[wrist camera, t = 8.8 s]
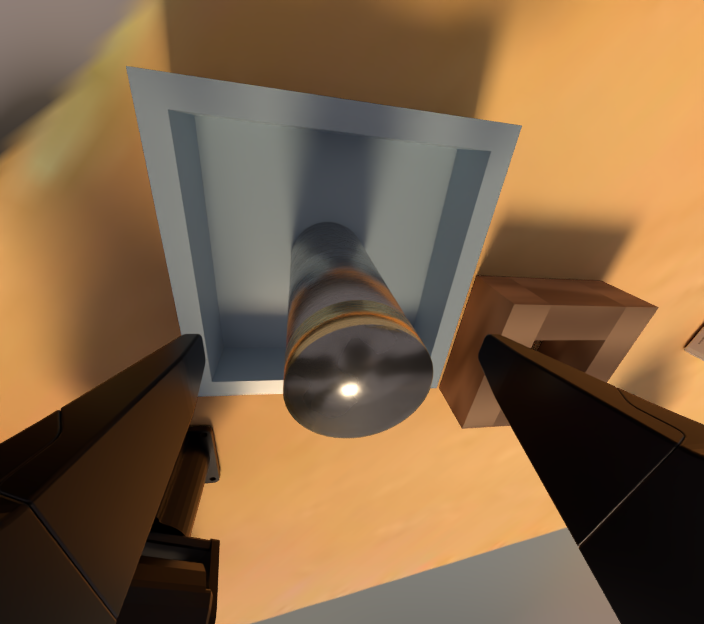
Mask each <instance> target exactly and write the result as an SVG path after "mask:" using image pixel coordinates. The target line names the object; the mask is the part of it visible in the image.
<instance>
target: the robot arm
mask: <svg viewBox="0 0 704 624" xmlns="http://www.w3.org/2000/svg"><path fill="white" fill-rule="evenodd" d="M478 360H479V363H480V365H481V367H482V369H483V372H484V374H485V376H486V379H487V381H488V383H489V386H490V388H491V390H492V392H493V395H494V397H495V399H496V401H497V403H498V405H499V406H500V408H501V410H502V412H503V413H504V415H505V417H506V419H507V421H508V422H509V424H510V426H511V428H512V430H513V431H514V433H515V435H516V437H517V438H518V440H519V442H520V444H521V446H522V447H523V449H524V451H525V453H526V455H527V456H528V458H529V460H530V462H531V463H532V465H533V467H534V469H535V471H536V472H537V474H538V476H539V478H540V480H541V481H542V483H543V485H544V487H545V489H546V490H547V492H548V494H549V496H550V497H551V499H552V501H553V503H554V505H555V506H556V508H557V510H558V512H559V514H560V515H561V517H562V519H563V521H564V522H565V524H566V526H567V528H568V530H569V531H570V533H571V535H572V537H573V538H574V540H575V542H576V544H577V545H578V546H579V550H580V551H581V553H582V555H583V557H584V559H585V560H586V562H587V564H588V566H589V568H590V569H591V571H592V573H593V575H594V577H595V578H596V580H597V582H598V584H599V586H600V587H601V589H602V591H603V593H604V594H605V596H606V598H607V600H608V601H609V603H610V605H611V607H612V609H613V610H614V612H615V614H616V616H617V618H618V620H619V621H620V623H621V624H704V425H703V424H701V423H698V422H696V421H694V420H691V419H689V418H686V417H684V416H681V415H679V414H677V413H674V412H672V411H670V410H667V409H665V408H663V407H660V406H658V405H655V404H653V403H651V402H649V401H646V400H644V399H642V398H640V397H637V396H635V395H633V394H631V393H628V392H626V391H624V390H622V389H620V388H616V387H615V386H613V385H611V384H608V383H606V382H604V381H602V380H600V379H597V378H595V377H593V376H591V375H588V374H586V373H584V372H582V371H580V370H577V369H575V368H573V367H571V366H569V365H566V364H564V363H562V362H560V361H558V360H555V359H553V358H551V357H549V356H547V355H544V354H542V353H540V352H538V351H535V350H533V349H531V348H529V347H527V346H524V345H522V344H520V343H518V342H516V341H513V340H511V339H509V338H507V337H505V336H502V335H500V334H488V335H486V336H485V338H484V340H483V342H482V345H481V348H480V350H479V353H478ZM205 361H206V359H205V351H204V345H203V340H202V336H201V335H200V334H183V335H182V336H180V337H178V338H177V339H175V340H173V341H172V342H170V343H168V344H167V345H165V346H163V347H162V348H160V349H158V350H157V351H155V352H153V353H152V354H150V355H148V356H147V357H145V358H143V359H142V360H140V361H138V362H137V363H135V364H133V365H132V366H130V367H128V368H127V369H125V370H123V371H122V372H120V373H118V374H117V375H115V376H113V377H112V378H110V379H108V380H107V381H105V382H103V383H102V384H100V385H98V386H97V387H95V388H94V389H92V390H90V391H89V392H87V393H85V394H84V395H82V396H80V397H79V398H77V399H75V400H74V401H72V402H70V403H69V404H67V405H65V406H64V407H62V408H61V411H60V410H57V411H55V412H53V413H52V414H50V415H48V416H47V417H45V418H43V419H42V420H40V421H38V422H37V423H35V424H33V425H32V426H30V427H28V428H26V429H25V430H23V431H21V432H20V433H18V434H16V435H14V436H13V437H11V438H9V439H8V440H6V441H4V442H2V443H0V624H215V620H216V611H217V592H218V569H219V545H220V540H216V539H210V540H206V539H200V538H194V537H190V536H191V532H192V528H193V525H194V521H195V517H196V513H197V510H198V506H199V502H200V499H201V495H202V491H203V487H204V484H205V483H214V482H217V481H219V478H220V469H219V464H218V458H217V453H216V447H215V441H214V436H213V430H212V428H211V427H209V426H193V427H189V424H190V422H191V419H192V416H193V413H194V410H195V406H196V402H197V397H198V393H199V389H200V385H201V380H202V376H203V372H204V367H205Z"/></svg>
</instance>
